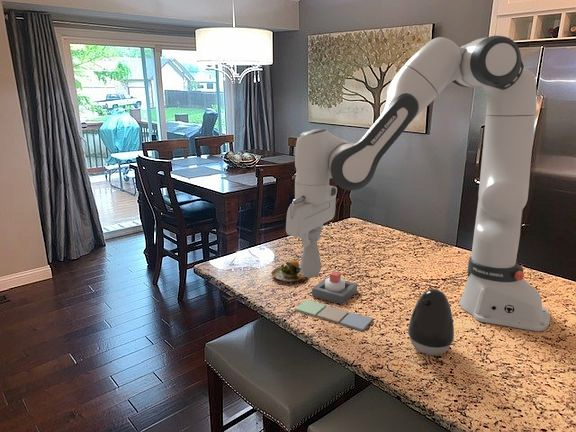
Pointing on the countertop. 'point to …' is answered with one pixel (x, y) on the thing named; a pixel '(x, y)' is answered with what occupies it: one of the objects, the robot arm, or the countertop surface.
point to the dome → (335, 282)
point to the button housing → (332, 296)
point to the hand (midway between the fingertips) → (311, 243)
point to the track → (334, 315)
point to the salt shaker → (311, 256)
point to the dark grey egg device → (431, 323)
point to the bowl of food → (289, 272)
